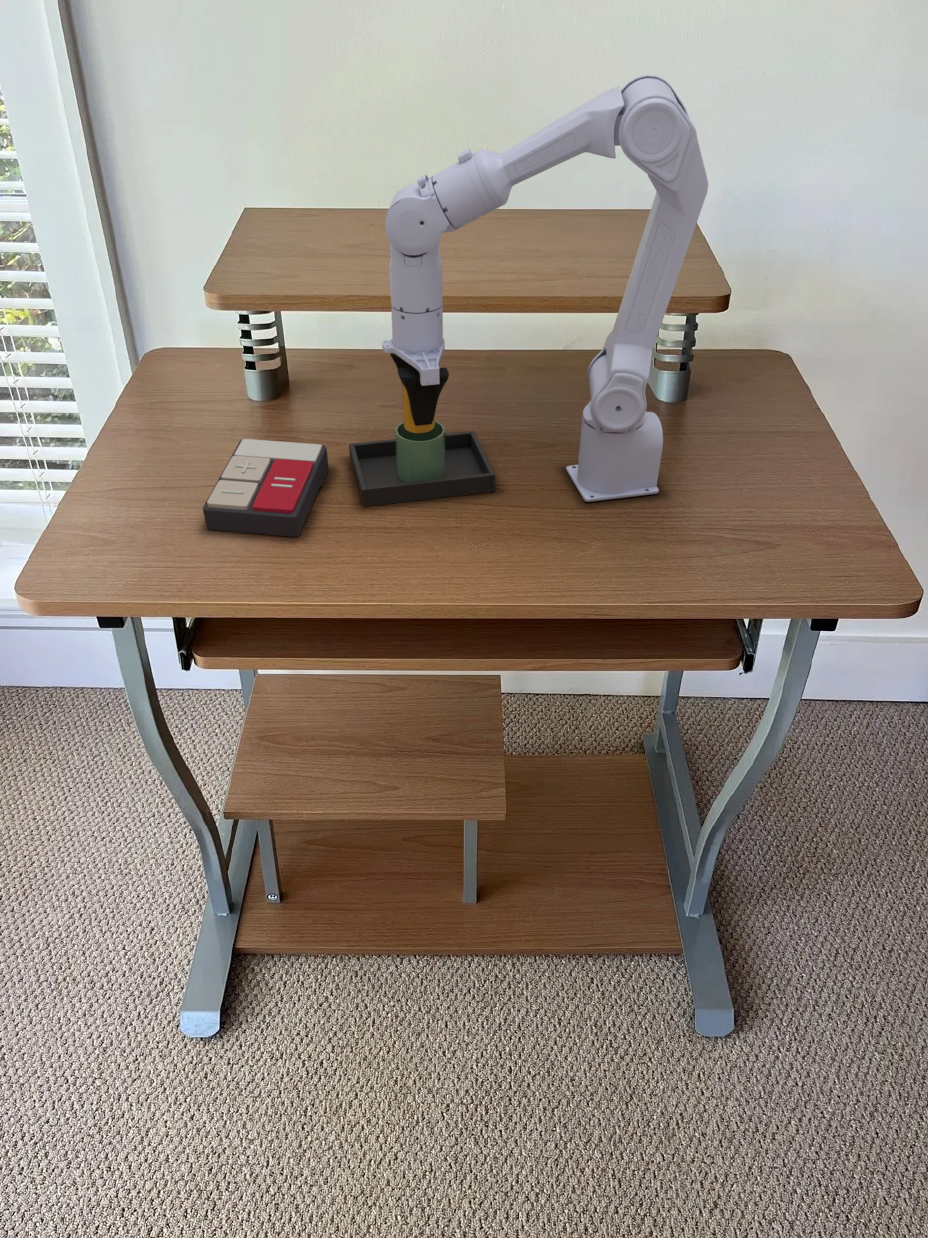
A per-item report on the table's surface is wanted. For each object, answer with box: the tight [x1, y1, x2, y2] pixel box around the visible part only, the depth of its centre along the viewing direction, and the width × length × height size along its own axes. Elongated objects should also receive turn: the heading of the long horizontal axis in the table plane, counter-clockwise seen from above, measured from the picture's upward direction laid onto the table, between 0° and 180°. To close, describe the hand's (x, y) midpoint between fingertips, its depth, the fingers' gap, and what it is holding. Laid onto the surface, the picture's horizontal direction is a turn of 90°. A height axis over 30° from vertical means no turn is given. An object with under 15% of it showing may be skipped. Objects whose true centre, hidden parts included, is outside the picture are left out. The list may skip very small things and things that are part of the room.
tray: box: [348, 430, 496, 508], centre depth 122 cm, size 16×11×2 cm
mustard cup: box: [401, 382, 436, 433], centre depth 117 cm, size 4×4×6 cm
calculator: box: [202, 438, 330, 538], centre depth 117 cm, size 11×4×15 cm
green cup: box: [394, 420, 446, 482], centre depth 121 cm, size 6×6×6 cm
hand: (419, 414), depth 118 cm, fingers closed on mustard cup, 4 cm apart
